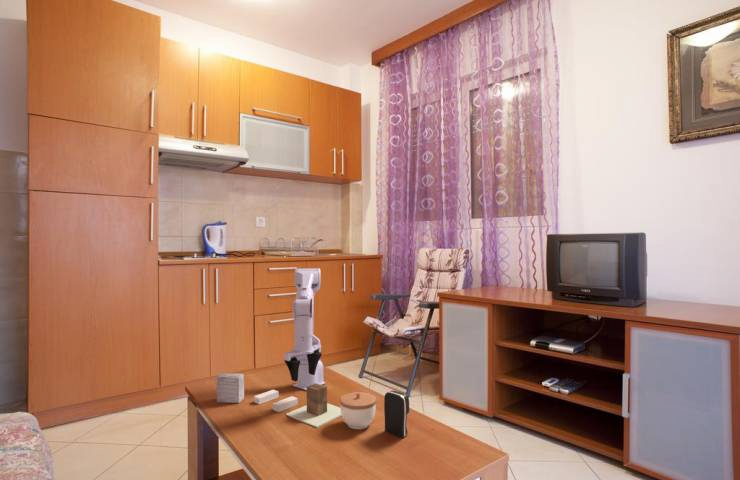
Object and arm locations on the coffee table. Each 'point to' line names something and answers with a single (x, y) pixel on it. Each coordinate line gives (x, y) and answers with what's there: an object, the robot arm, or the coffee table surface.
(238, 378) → the medicine box
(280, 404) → the slot blocks
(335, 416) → the mat
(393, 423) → the battery charger
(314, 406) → the walnut block
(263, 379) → the coffee table surface
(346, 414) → the lidded jar
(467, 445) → the coffee table surface
